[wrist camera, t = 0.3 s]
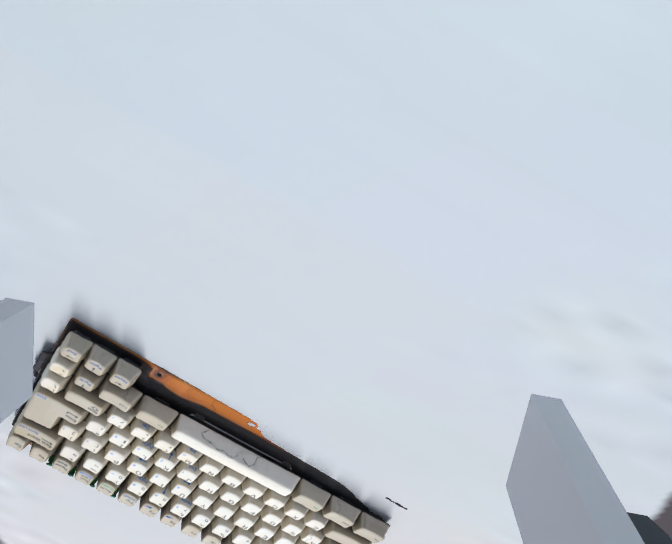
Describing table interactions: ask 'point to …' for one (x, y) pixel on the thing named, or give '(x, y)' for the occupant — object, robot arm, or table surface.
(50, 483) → the table surface
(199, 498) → the mechanical keyboard
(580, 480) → the robot arm
